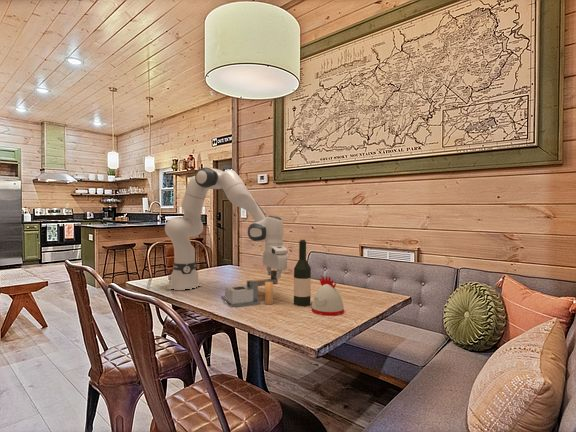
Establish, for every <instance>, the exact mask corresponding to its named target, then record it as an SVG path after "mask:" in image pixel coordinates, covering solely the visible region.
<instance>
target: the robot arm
mask: <svg viewBox="0 0 576 432" xmlns="http://www.w3.org/2000/svg"><path fill="white" fill-rule="evenodd" d="M209 190H223V192H224V195H225V196H226V197H227V200H228V201H229V202H230V203H231V204H232V205H234V206H235V207H238V208H241V209H243V210H245V211H246V212H247V213H248V214H250V216H251V217H252V219H253V220H254V223H253V222H252V223H251V224H250V225H248V228H247V236H248V238H249V239H250V240H251V241H252V242H265V245H264V248H265V249H264V251H263V253H262V264H263V266H265V267H266V271H267V276H270V277H271V271H272V269H275V270H276V271H277V275H276V278H277V279H278V280H280V279H281V275H282V273H283V271H286V270H287V268H288V255H287V254H288V252H289V251H288V249H287V248H286V247H285V245H284V240H283V236H284V223H283V222H284V221H283V219H282V218H281V217H279V216H276V215H266V214H265V213H264V211H263V210H262V208H261V207H260V205H259V204H258V203H257V201H256V200H255V199H254V197H253V196H252V195H251V193H250V191H249V189H248V188H247V187H246V184H245V183H244V181H243V179H242V178H241V177H240V175H238V173H237V172H236V171H235V170H233V169H227V170H221V169H218V168H212V167H201V168H199V169H197V170H196V173H195V175H194V176H192V177H191V178H190V180H189V181H188V183H187V186H186V188H185V191H184V195H183V199H182V202H181V208H182V210H183V216H182V217H183V218H182V217H179V218H178V217H177V218H176V217H175V218H172V219H170V220H168V221H167V222H166V223H165V225H164V233H165V235H166V236H167V237H168V238H169V239H170V240H171V242H172V247H173V253H174V254H173V255H174V256H173V257H174V259H173V260H174V262H173V265H172V268H173V270H172V272H171V274H170V275H168V281H169V282H167V286H166V290H171V289H174V290H173V291H186V290H185V289H190V290H193V289H192V288H195V289H197V288H199V287H198V286H200V287H202V284H201V283H199V282H200V281H199V271H197V270H196V267H197V264H196V248H195V247H194V246H193V245H192V243H191V240H190V238H195V237H197V236H199V235H201V234H202V233H203V231H204V224H203V222H202V209H203V207H204V203H205V198H206V196H207V194H208V191H209ZM196 287H197V288H196Z"/></svg>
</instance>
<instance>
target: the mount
mask: <svg viewBox="0 0 576 432" xmlns="http://www.w3.org/2000/svg"><path fill="white" fill-rule="evenodd" d="M249 281H253V279H252V280H246V285H245V284H244V285H234V286H233V285H232V286H225V295H221V296H220V299H221V298H222V299H223V300H222V299H221V300H222V301H224V302H225V301H226V302H227V303H226V302H225V303H226V304H227V305H229V306H230V305H231V306H230V307H232V308H233V307H235V308H242V307H248V306H249V305H250V306H257V305H261V301H259V296H258V295H259V286H258V283H257V282H252V283H251V286H249ZM250 306H249V307H250Z"/></svg>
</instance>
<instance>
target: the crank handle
mask: <svg viewBox="0 0 576 432" xmlns="http://www.w3.org/2000/svg"><path fill="white" fill-rule="evenodd" d="M276 275H277V270H276V269H275V270H271V275H270V278H266V279H254V280H253V279H252V280H253V281H249V280H248V281H249V286H251V283H252V282H257V283H258V287H263V286H264V287H265V282H273V286H275V285H278V284H279V283H278V280H279V279H277V278H276Z"/></svg>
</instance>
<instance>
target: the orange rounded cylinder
mask: <svg viewBox="0 0 576 432" xmlns="http://www.w3.org/2000/svg"><path fill="white" fill-rule="evenodd" d="M273 286H274V285H273V282H265V285H264V305H269V306H271V305H273V303H274V302H273V301H274V300H273V298H274V297H273V292H274V289H273V288H274V287H273Z"/></svg>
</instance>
